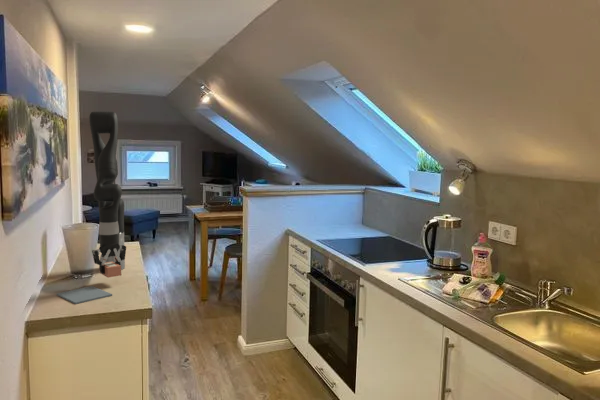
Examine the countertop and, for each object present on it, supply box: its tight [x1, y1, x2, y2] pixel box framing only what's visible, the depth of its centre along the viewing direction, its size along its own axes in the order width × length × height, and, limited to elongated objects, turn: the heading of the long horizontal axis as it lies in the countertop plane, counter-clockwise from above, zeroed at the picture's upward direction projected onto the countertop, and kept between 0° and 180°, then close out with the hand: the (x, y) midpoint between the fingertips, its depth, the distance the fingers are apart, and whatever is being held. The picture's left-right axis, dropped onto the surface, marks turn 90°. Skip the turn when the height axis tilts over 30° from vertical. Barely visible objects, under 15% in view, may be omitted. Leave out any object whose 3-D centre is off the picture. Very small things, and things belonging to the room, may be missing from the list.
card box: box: [98, 262, 122, 279], centre depth 195 cm, size 9×6×4 cm, turn 43°
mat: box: [55, 285, 113, 305], centre depth 180 cm, size 16×14×1 cm
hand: (110, 271), depth 195 cm, fingers closed on card box, 5 cm apart
